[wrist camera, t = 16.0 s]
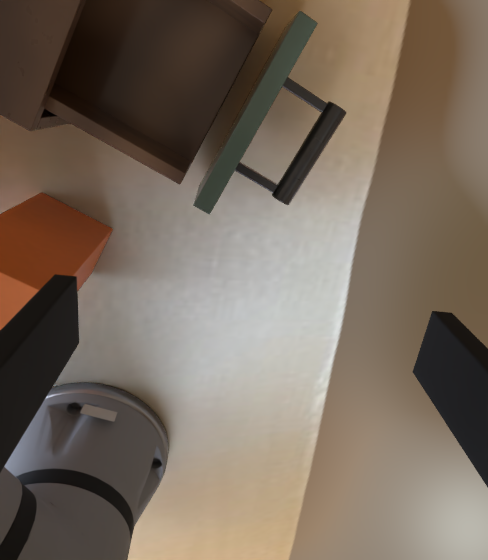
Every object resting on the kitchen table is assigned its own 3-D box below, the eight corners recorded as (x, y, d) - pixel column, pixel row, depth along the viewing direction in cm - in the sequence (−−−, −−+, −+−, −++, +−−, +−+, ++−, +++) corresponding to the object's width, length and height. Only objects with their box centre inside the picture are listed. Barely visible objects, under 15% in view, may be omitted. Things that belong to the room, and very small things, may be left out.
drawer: (356, 75, 31) (385, 70, 25) (264, 223, 35) (272, 249, 29) (101, -102, 27) (66, -157, 21) (30, 90, 31) (-16, 89, 25)
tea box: (113, 228, 36) (54, 297, 24) (91, 273, 37) (26, 359, 25) (41, 191, 34) (-59, 244, 22) (22, 239, 36) (-82, 313, 24)
